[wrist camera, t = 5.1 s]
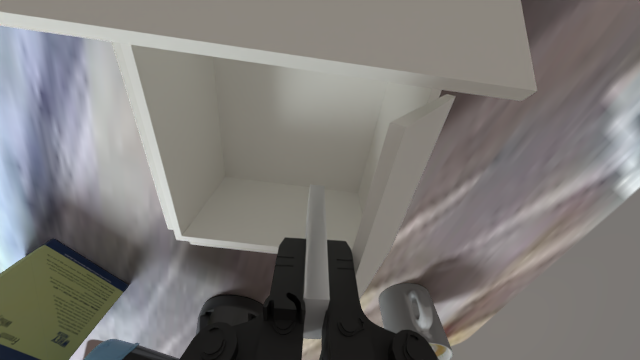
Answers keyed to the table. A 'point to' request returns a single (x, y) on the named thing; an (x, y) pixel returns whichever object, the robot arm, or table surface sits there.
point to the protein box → (52, 303)
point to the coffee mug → (414, 315)
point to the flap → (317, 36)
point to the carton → (257, 143)
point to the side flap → (396, 184)
